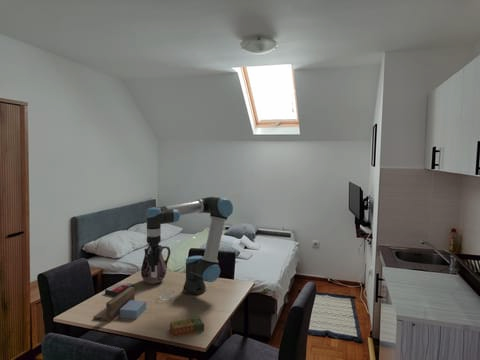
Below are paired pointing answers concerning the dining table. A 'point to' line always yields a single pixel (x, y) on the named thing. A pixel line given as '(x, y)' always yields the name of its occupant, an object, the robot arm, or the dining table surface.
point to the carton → (186, 326)
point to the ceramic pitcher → (160, 268)
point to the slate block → (133, 309)
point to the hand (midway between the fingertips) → (154, 277)
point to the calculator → (118, 288)
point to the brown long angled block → (115, 305)
